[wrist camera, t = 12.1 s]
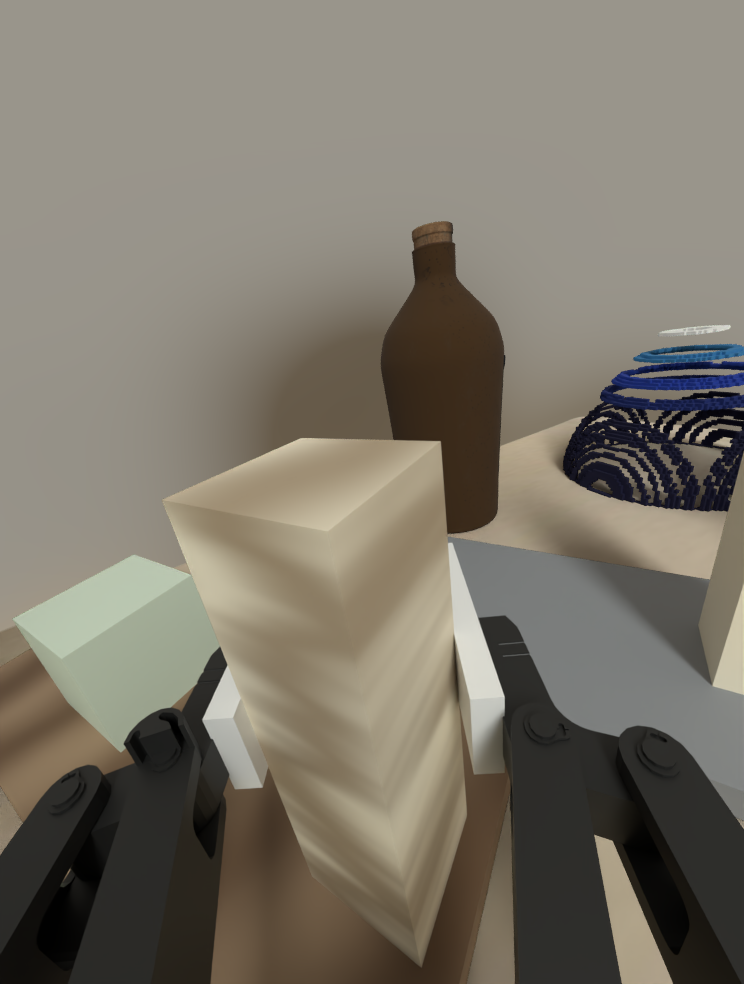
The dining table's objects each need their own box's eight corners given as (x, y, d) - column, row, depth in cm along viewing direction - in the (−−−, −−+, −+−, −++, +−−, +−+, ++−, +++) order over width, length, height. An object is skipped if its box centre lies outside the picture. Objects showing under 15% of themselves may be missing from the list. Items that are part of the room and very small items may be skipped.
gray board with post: (258, 623, 27) (186, 408, 21) (356, 534, 36) (327, 372, 30) (954, 906, 11) (1505, 349, 5) (796, 616, 21) (915, 313, 15)
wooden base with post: (-40, 716, 23) (-237, 483, 17) (160, 588, 33) (82, 414, 27) (378, 1371, 7) (-430, 1443, 1) (521, 740, 17) (530, 396, 11)
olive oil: (431, 550, 32) (400, 205, 23) (384, 507, 42) (347, 249, 32) (528, 516, 36) (536, 199, 26) (463, 483, 45) (452, 241, 35)
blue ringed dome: (713, 536, 29) (763, 340, 23) (527, 469, 47) (530, 347, 41) (855, 473, 35) (922, 303, 29) (641, 434, 52) (658, 323, 47)
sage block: (68, 702, 21) (12, 618, 18) (168, 629, 25) (133, 554, 23) (120, 752, 17) (61, 658, 15) (224, 658, 22) (191, 574, 20)
